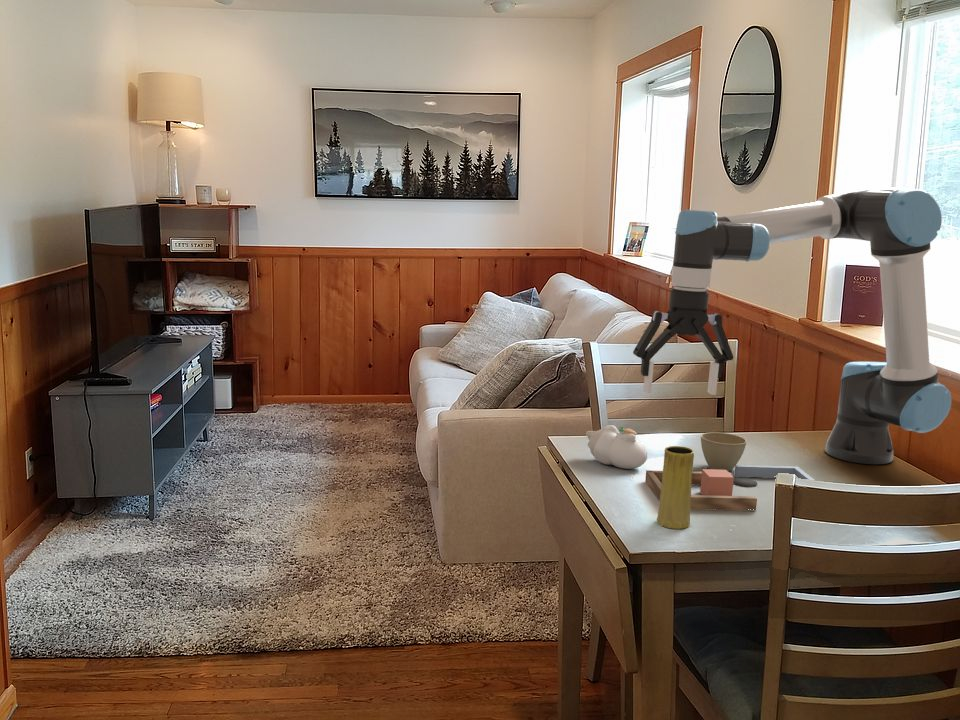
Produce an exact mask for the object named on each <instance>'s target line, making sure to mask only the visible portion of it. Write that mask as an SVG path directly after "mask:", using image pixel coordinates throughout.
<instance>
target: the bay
mask: <svg viewBox="0 0 960 720" xmlns="http://www.w3.org/2000/svg"><path fill="white" fill-rule="evenodd" d="M778 473H789V474H795V475H796V476H797V477H798V478H801V479H809V480H815V479H814V478H813V477H812V476H811V475H810V474H808V473H806V472H805V471H804V470H803V469H802V468H801V467H800V466H796V465H795V466H791V465H790V466H789V465H788V466H787V465H781V466H780V465H753V464H751V465H750V464H749V465H748V464H736V465H735V467H734V475H735V476H736V477H735V476H734V477H735V478H750V477H766V478H765V479H774V478H773V477H774V476H776V475H777V474H778Z"/></svg>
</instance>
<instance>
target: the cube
mask: <svg viewBox="0 0 960 720" xmlns="http://www.w3.org/2000/svg"><path fill="white" fill-rule="evenodd" d="M701 472H702V477H701V485H700V489H699V490H700V491H699V492H700V494H701V495H702V494H703V495H710V496H733V489H734V484H733V481H734V478H735V476H733V474H732V473H731V472H730V471H727V470H716V469H711V468H707V469H706V468H702V469H701ZM729 472H730V473H731V474H732V475H731V474H730V473H729Z"/></svg>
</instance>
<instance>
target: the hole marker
mask: <svg viewBox="0 0 960 720" xmlns="http://www.w3.org/2000/svg"><path fill="white" fill-rule="evenodd" d="M733 485H736V486H738V485H739V486H738V487H743V486H744V487H745V488H753V487H752V486H754V487H756V485H757V486H758V481H757V480H754V479H753V478H749V477H734V481H733Z"/></svg>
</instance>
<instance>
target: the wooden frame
mask: <svg viewBox="0 0 960 720" xmlns="http://www.w3.org/2000/svg"><path fill="white" fill-rule="evenodd" d="M728 472H729V473H730V474H731V475H732V476H733V473H732V472H731V471H728ZM662 476H663V470H650V469H649V470H645V481H644V482H645V483H646V485H647V486H648V488H649V489H650V490H651V491H652V494H654V495H653V496H655V498H656V499H657V500H658V503H659V502H660V494H661V485H662ZM701 477H702V471H692V481H691V484H701ZM757 503H758V498H757V497H756V496H751V495H748V496H747V495H745V496H744V495H740V496H739V495H732V496H710V495H702V494H701V495H699V494H698V495H697V494H691V506H690V510H700V509H710V510H709V511H711V509H712V511H714V510H715V509H716V510H715V511H745V510H748V509H749V510H750V509H751V510H753V509H754V510H757V506H758V505H757ZM713 509H714V510H713Z"/></svg>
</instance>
